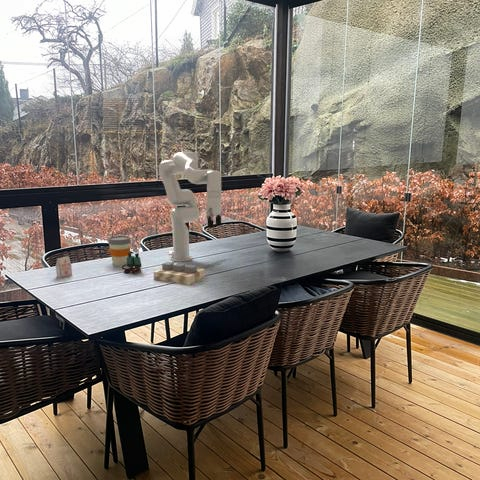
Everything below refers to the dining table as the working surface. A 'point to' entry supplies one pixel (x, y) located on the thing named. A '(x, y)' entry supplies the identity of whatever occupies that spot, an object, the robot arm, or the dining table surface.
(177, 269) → the button
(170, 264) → the button
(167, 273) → the switch unit
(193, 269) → the button
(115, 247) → the reusable coffee cup
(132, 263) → the green tank cart
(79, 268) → the dining table surface
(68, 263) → the tea bag
